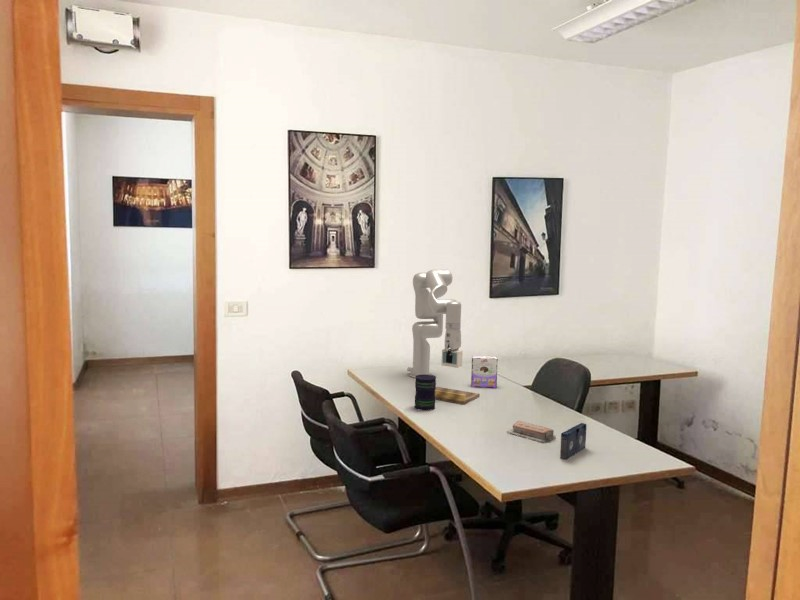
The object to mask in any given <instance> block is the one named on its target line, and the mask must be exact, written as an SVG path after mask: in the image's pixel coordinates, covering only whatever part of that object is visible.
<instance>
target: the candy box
mask: <svg viewBox="0 0 800 600" xmlns="http://www.w3.org/2000/svg"><path fill="white" fill-rule="evenodd" d="M470 380H471V381H470V388H482V387H488V388H490V389H497V386H498V384H497V383H498V357H497V356H488V355H471V374H470Z"/></svg>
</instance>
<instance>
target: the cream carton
mask: <svg viewBox="0 0 800 600" xmlns="http://www.w3.org/2000/svg"><path fill="white" fill-rule="evenodd" d="M444 349H445V348H444ZM444 349H443V348H442V349H441V366H443V367H450V368H461V367H463V350H461V349H458V350H455V349H454V350H452V363H447V362H446V352H445V350H444ZM449 351H450V350H449Z"/></svg>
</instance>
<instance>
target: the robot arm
mask: <svg viewBox="0 0 800 600" xmlns="http://www.w3.org/2000/svg"><path fill="white" fill-rule="evenodd" d="M452 283H453V273H451V271H450V270H448V269H429V270H428V271H427V272H417V273H416V274H414V275H413V278H412V287H413V291H414V295H415V299H414V300H415V301H414V303H415V304H414V313H415V317H416V318H417V319H418V320H426V321H416V322H414V324H412V326H411V327H412V328H411V331H412V338H413V339H412V340H413V341H412V342H413V343H412V344H413V345H412V346H413V349H412V350H413V351H412V353H413V354H412V367H410V366H408V367H407V370H406V371H407V372H410V373H409V377H410V378H415V379H416V376H417V375H423V374H426V375H432V373H431V372H430V362H431V361H430V360H431V359H430V358H431V346H430V343H429V342H428V340H427V339H438V338H441V337H442V336H443V332H444V327H445V335H444V350H445V352H446V362H447V363H452V350H454V349H455V350H460V348H461V347H462V332H461V322H462V304H461V302H460V301H458V300H456V299H452V298H450V299H447V298H446V299H441V297H443V296H445V294H447V291H448V286H450V285H451V284H452ZM428 288H429V290H430V291H429V290H428ZM439 298H440V299H439ZM444 315H445V326H444ZM427 320H428V321H427ZM429 320H431V321H429ZM432 320H433V321H432ZM449 350H450V351H449Z"/></svg>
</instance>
